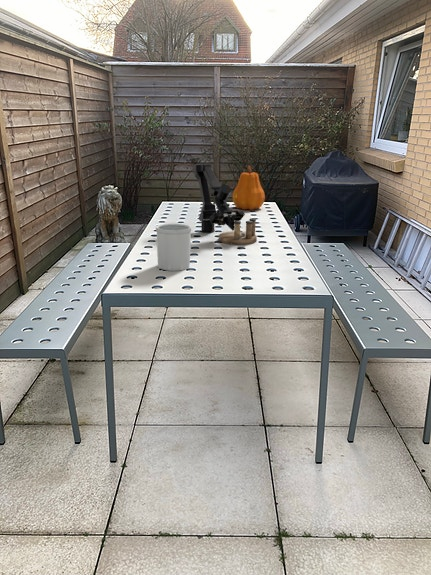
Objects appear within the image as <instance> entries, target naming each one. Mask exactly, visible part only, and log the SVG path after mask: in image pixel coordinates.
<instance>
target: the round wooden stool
mask: <svg viewBox="0 0 431 575" xmlns="http://www.w3.org/2000/svg"><path fill="white" fill-rule="evenodd" d="M256 221H257V218H249V219H248V220H246V221H245V231H243V230H242V231H241V230H240V235H241V233H245V236H242V237H240V239H234V231H232V230H231V231H224V232H220V233H219V234H218V241H219V242H220V243H222V244H226V245H233V246H243V245H245V246H246V245H253V244H255V243H256V242H257V241H258V240H257V239H258V238H257V237H258V235H257V234H256V224H257V223H256Z"/></svg>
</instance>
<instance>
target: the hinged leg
mask: <svg viewBox="0 0 431 575" xmlns="http://www.w3.org/2000/svg"><path fill="white" fill-rule="evenodd" d="M241 224H242V223H241V220H240V221H234V239H240V237H242V236H245V233H241V235H240V231H241Z"/></svg>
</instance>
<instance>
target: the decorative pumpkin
mask: <svg viewBox="0 0 431 575" xmlns="http://www.w3.org/2000/svg"><path fill="white" fill-rule="evenodd" d="M246 168H247V170H248V172H247V171H246V172H241V174H240V176H239V179H238V182H237V185H236V187H235V188H234V190H233V193H232V202H233V204H234V205H235V207H236V208H238V209H239V210H240V209H241V210H243V211H244V210H249V211H250V210H251V211H252V210H257V209H259V208H261V207H262V206H263V204H264V203H265V201H266V200H265V199H266V196H265V195H266V194H265V192H264V189H263V187H262V185H261V181H260V176H259V174H258V173H257V172H254V171H253V172H252V168H251V166H250V164H249V165H248V164H247V166H246Z"/></svg>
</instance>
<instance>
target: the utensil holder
mask: <svg viewBox="0 0 431 575" xmlns="http://www.w3.org/2000/svg"><path fill="white" fill-rule="evenodd" d="M155 231H156V249H157V250H156V251H157V252H156V253H157V267H158V268H159V269H161V270H163V271H168V272H169V271H170V272H171V271H172V272H173V271H174V272H177V271H183V270H187V269H189V268H190V264H191V231H192V226H191V225H189V224H185V223H175V222H170V223H160V224H157V225H156V226H155Z"/></svg>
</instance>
